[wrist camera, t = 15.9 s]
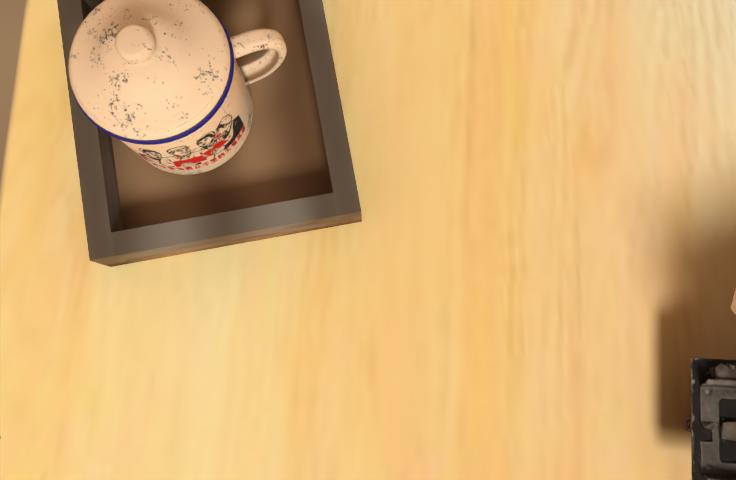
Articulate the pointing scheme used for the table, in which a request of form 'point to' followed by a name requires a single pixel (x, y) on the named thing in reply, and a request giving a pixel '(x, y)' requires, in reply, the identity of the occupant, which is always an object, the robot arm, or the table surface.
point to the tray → (242, 171)
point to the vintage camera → (713, 419)
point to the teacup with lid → (169, 80)
